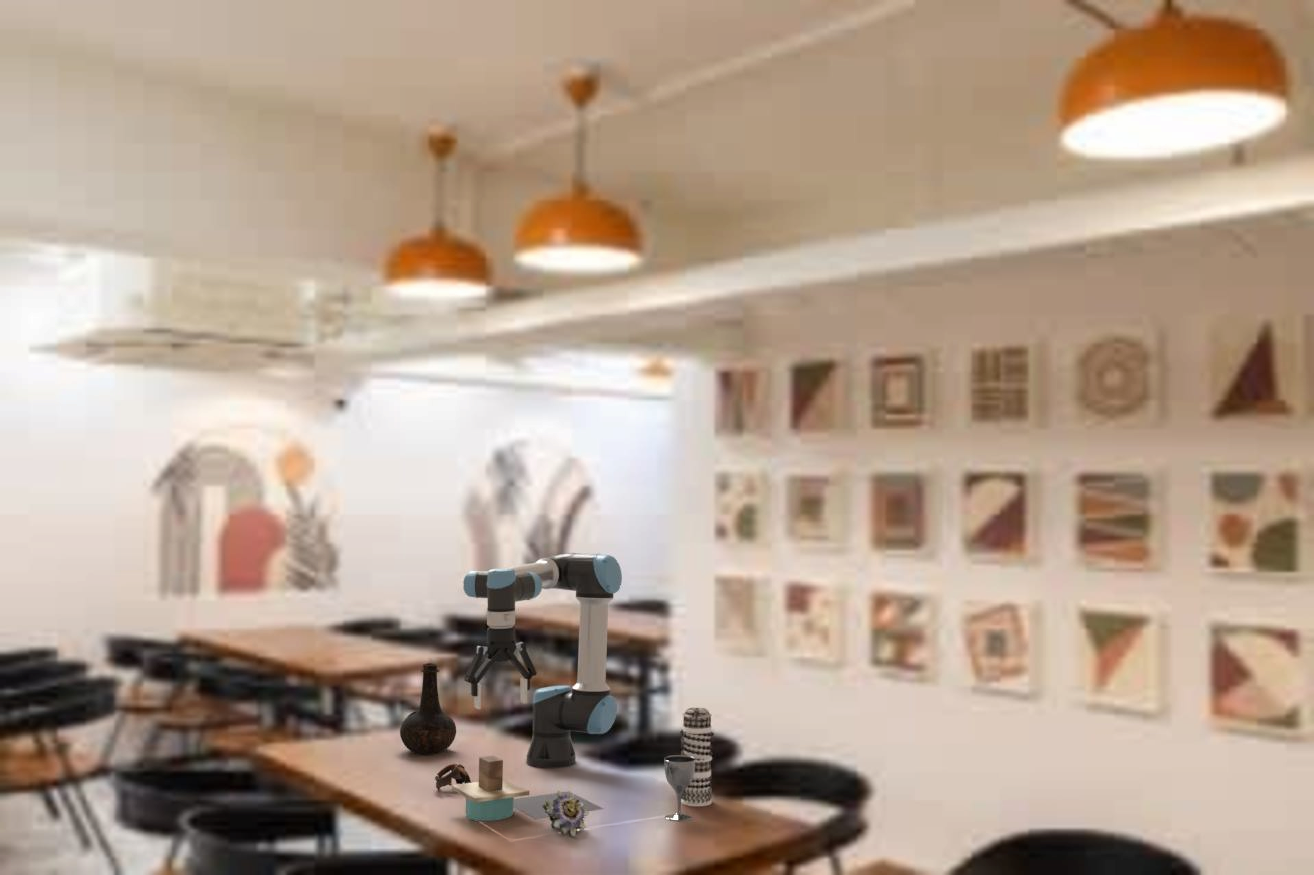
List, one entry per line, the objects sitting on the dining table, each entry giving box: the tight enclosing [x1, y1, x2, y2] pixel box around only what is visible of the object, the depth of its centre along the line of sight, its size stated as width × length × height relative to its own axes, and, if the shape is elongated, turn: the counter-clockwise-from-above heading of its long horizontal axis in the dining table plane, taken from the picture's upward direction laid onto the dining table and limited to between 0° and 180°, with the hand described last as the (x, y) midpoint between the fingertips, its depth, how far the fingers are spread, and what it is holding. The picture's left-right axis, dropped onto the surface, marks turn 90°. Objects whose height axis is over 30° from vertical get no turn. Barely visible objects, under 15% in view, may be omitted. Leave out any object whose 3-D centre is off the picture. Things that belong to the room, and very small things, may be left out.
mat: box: [514, 791, 604, 820], centre depth 306 cm, size 20×20×1 cm
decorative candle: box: [679, 707, 715, 807], centre depth 313 cm, size 9×9×25 cm
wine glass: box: [663, 754, 695, 822], centre depth 298 cm, size 8×8×15 cm
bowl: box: [465, 797, 515, 823], centre depth 297 cm, size 12×12×6 cm
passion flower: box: [543, 790, 590, 838], centre depth 284 cm, size 11×11×12 cm
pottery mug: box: [434, 763, 472, 791], centre depth 322 cm, size 12×10×8 cm
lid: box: [451, 755, 530, 803], centre depth 297 cm, size 15×15×8 cm
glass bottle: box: [399, 662, 457, 755], centre depth 369 cm, size 18×18×28 cm
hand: (500, 705), depth 310 cm, fingers open, 13 cm apart
